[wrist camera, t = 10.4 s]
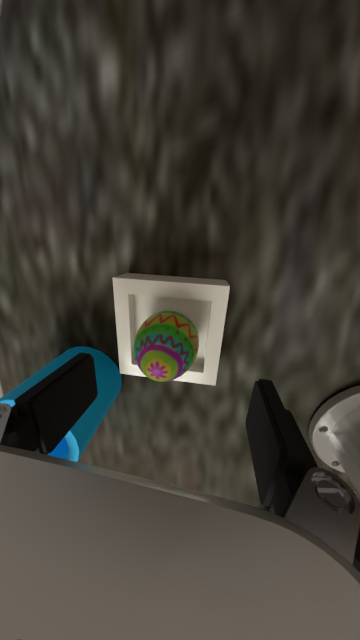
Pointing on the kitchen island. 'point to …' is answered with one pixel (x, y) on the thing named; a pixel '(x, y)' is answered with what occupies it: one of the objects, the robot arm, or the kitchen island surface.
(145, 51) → the kitchen island surface
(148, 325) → the egg
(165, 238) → the kitchen island surface
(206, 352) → the square tray
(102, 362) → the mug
